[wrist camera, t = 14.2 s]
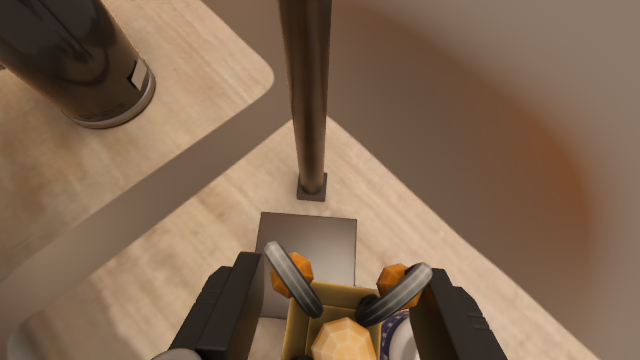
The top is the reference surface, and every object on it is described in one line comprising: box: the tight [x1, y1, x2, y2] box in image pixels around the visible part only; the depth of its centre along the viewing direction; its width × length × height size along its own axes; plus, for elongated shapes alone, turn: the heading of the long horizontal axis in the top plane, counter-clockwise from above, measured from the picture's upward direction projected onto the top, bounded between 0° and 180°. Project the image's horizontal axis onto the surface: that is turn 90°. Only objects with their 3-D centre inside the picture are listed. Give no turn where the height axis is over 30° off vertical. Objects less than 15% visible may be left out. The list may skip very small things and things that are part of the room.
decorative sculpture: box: [264, 241, 433, 360], centre depth 10 cm, size 5×5×8 cm
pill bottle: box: [379, 311, 420, 360], centre depth 20 cm, size 5×5×9 cm
